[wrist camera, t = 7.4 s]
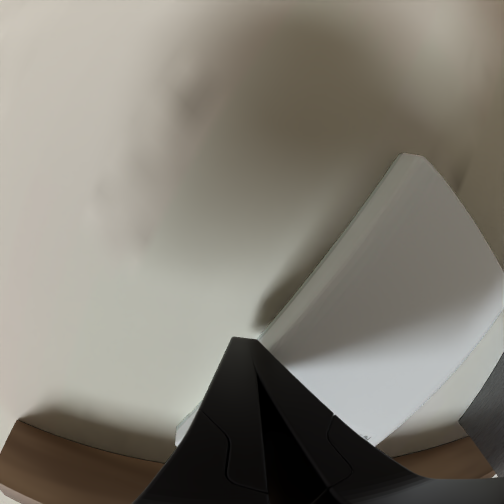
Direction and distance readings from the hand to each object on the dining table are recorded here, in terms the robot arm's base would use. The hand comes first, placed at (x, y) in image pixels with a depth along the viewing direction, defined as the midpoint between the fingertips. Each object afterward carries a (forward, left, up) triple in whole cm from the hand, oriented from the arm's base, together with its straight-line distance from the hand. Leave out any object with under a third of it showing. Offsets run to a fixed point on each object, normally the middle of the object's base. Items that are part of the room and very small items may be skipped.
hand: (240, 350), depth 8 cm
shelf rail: (-9, -6, -1) cm, 11 cm away
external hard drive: (-1, -5, -2) cm, 5 cm away
